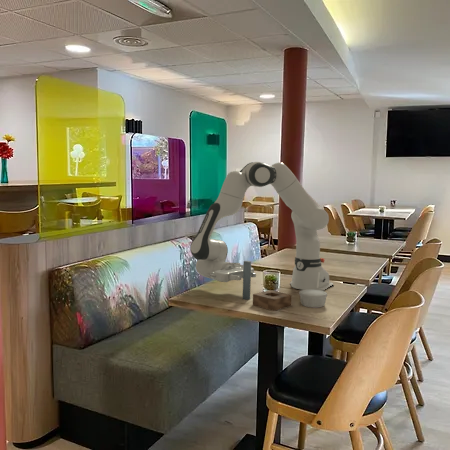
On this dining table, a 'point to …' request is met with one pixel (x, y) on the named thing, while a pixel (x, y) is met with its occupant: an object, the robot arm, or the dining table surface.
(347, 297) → the dining table surface
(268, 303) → the wooden candle holder
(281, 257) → the dining table surface
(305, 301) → the ramekin
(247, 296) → the dowel
